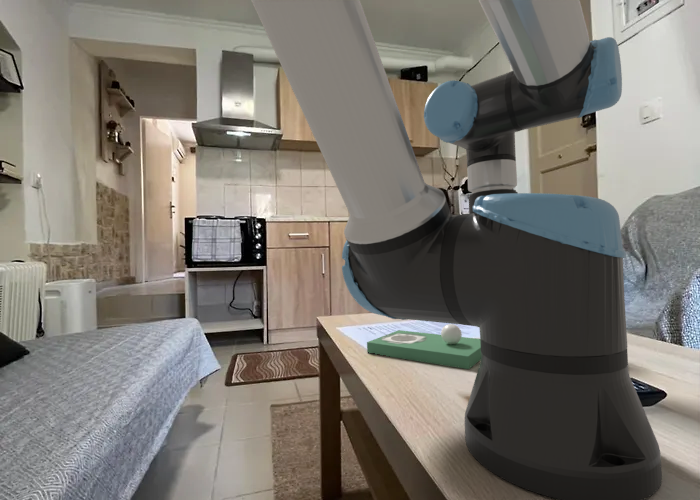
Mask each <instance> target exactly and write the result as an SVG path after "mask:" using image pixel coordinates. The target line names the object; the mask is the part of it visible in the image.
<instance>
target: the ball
mask: <svg viewBox="0 0 700 500" xmlns="http://www.w3.org/2000/svg"><path fill="white" fill-rule="evenodd" d="M440 335H441V336H442V339H443V340H444V341H445V342H446V343H448V344H456V343H458V342H459V341H460V339H461V337H463V336H462V335H463V334H462V330H461V328H460V327H459V326H457V324H451V323H447V324H446V325H444V326H443V327H442V328H441V331H440Z"/></svg>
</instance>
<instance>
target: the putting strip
mask: <svg viewBox="0 0 700 500" xmlns="http://www.w3.org/2000/svg"><path fill="white" fill-rule="evenodd" d="M366 347H367V348H366V351H367V352H369V353H368V354H370V353H375V354H374V355H377V354H380V355H379V356H383V355H386V356H385V357H389V356H390V357H389V358H395V359H396V358H397V359H403V360H408V361H416V362H421V363H425V364H427V363H428V364H434V365H438V366H439V365H441V366H445V367H454V368H459V369H465V370H471V368H472V367H474V366H475V365H476V364H477V363H478V362H480V361H481V344H480V338H475V337H474V338H473V337H466V336H461V339H460V341H459V342H458V343H456V344H448V343H446V342H445V341H444V340H443V339H442V336H441V334H437V333H428V332H418V331H410V330H409V331H408V330H400V329H397V330H396V331H393V332H391V333H387V334H385V335H382V336H379V337H377V338H374V339H372V340H370V341H367V342H366Z"/></svg>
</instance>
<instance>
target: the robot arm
mask: <svg viewBox="0 0 700 500" xmlns="http://www.w3.org/2000/svg"><path fill="white" fill-rule="evenodd" d="M250 1H251V4H252V5H253V7H254V9H255V12H256V14H257V16H258V19H259V20H260V22H261V26H262V27H263V29H264V31H265V33H266V35H267V37H268V40H269V41H270V44H271V46H272V48H273V50H274V53H275V55H276V57H277V59H278V61H279V64H280V66H281V68H282V70H283V73H284V75H285V77H286V79H287V81H288V83H289V86H290V87H291V90H292V92H293V94H294V96H295V99H296V100H297V101H296V102H298V105H299V108H300V109H301V112H302V113H303V116H304V118H305V120H306V122H307V124H308V127H309V128H310V131H311V133H312V136H313V137H314V139H315V141H316V144H317V146H318V148H319V150H320V153H321V155H322V156H323V159H324V161H325V163H326V165H327V168H328V170H329V171H330V174H331V177H332V178H333V181H334V183H335V185H336V187H337V189H338V191H339V193H340V196H341V198H342V200H343V202H344V205H345V207H346V208H347V211H348V213H349V217H348V219H347V222H346V225H345V227H344V230H343V232H344V233H343V234H344V238H345V240H346V241H345V243H344V245H343V248H342V254H341V259H342V260H344V265H342V267H341V271H342V276H343V280H344V282H345V283H344V284H345V286H346V288H347V290H348V291H349V292H348V293H349V294H350V295H351V296H352V298H353V300H355V303H357V304H358V305H359V306H360V307H361V308H363V309H365V310H366V311H368V312H369V313H372V314H375V315H379V316H383V317H387V318H388V319H389V318H390V319H392V320H402V321H404V320H410V321H411V320H412V321H419V322H420V321H421V322H429V323H430V322H432V323H442V324H454V325H460V326H461V325H462V326H471V327H477V328H479V339H480V344H481V360H480V361H479V362H480V363H479V365H478V369H477V373H476V375H475V379H474V383H473V386H472V388H471V393H470V395H469V399H468V402H467V404H466V405H467V406H466V409H465V413H464V440H465V445H466V446H467V447H466V448H467V449H468V451H469V453H470V454H471V455H472V456H473V457H474V459H475V460H476V461H477V462H478V463H480V465H481V466H483V467H484V468H486V469H487V470H488V471H490V472H491V473H493V474H495V475H496V476H497V477H500V478H501V479H503V480H505V481H506V482H509V483H511V484H513V485H515V486H517V487H520V488H523V489H525V490H527V491H531V492H533V493H536V494H538V495H542V496H546V497H550V498H553V499H558V500H645V499H648V498H649V497H650V496H652V495H654V494H655V493H656V492H657V491H658V490H659V489H660V487H661V484H662V482H663V481H662V480H663V478H662V477H663V476H662V473H663V472H662V456H661V455H662V454H661V453H662V452H661V450H660V446H659V443H658V440H657V437H656V435H655V434H654V433H655V432H654V430H653V429H652V425H651V423H650V421H649V419H648V416H647V413H646V411H645V409H644V407H643V405H642V402H641V400H640V397H639V395H638V393H637V390H636V388H635V385H634V383H633V381H632V379H631V376H630V372H629V371H630V370H629V356H628V334H627V320H626V319H627V317H626V315H627V314H626V303H625V301H626V300H625V299H626V298H625V279H624V259H625V258H627V252H626V250H625V249H624V246H623V240H622V239H623V238H622V229H621V223H620V216H619V212H618V210H617V209H616V208H615V207H614V205H612V204H611V203H610V202H608V201H606V200H604V199H601V198H598V197H593V196H588V195H587V196H586V195H576V194H566V193H565V194H563V193H560V194H559V193H543V192H542V193H539V192H538V193H534V192H533V193H532V192H531V193H530V192H529V193H525V192H523V193H521V192H520V193H519V192H518V191H517V190H516V189H515V188H516V187H517V186H518V175H517V173H518V171H517V157H516V135H515V134H516V133H518V132H520V131H525V130H529V129H534V128H539V127H541V126H545V125H546V126H547V125H551V124H554V123H555V124H556V123H560V122H564V121H569V120H573V119H579V118H582V117H583V116H585V115H589V114H592V113H596V112H599V111H602V110H606V109H609V108H612V107H613V106H615V105H616V104H618V102H619V101H620V99H621V97H622V90H623V89H622V88H623V77H622V75H623V73H622V64H621V63H622V61H621V57H620V56H621V55H620V49H619V44H618V42H617V41H616V39H615V37H614V38H613V37H610V36H609V37H604V38H600V39H593V40H590V36H589V31H588V27H587V23H586V19H585V14H584V12H583V7H582V4H581V0H477V1H478V2H479V4H480V6H481V9H482V11H483V12H484V15H485V17H486V19H487V21H488V23H489V25H490V27H491V29H492V31H493V32H494V34H495V37H496V39H497V41H498V44H499V45H500V47H501V49H502V51H503V52H504V55H505V57H506V59H507V61H508V63H509V65H510V67H511V69H512V70H511V71H509V72H506V73H503V74H500V75H498V76H495V77H492V78H490V79H487V80H483V81H481V82H477V83H475V84H473V85H471V84H470V83H467V82H464V81H459V80H455V79H453V80H448V81H445V82H443V83H441V84H439V85H438V86H437V87H435V88H434V90H432V92H431V93H430V94H429V96H428V97H427V99H426V102H425V106H424V110H423V119H424V120H423V121H424V125H425V126H426V128H427V130H428V131H429V133H430V134H432V135H433V136H435V137H437V138H439V139H440V140H441V141H442V142H444V143H449V144H451V145H454V146H457V147H460V148H462V149H464V150H465V151H466V169H467V171H466V172H467V190H468V192H470V194H469V196H468V213H464V214H463V213H462V214H452V213H453V212H451V209H450V207H449V206H450V205H449V204H448V201H447V198H446V195H445V193H444V191H443V190H442V189H440V188H438V187H435V186H433V185H430V184H427V183H426V182H425V180H424V179H425V178H423V174H422V172H421V171H422V170H421V169H420V166H419V162H418V160H417V158H416V155H415V152H414V149H413V145H412V144H411V140H410V137H409V135H408V131H407V130H406V127H405V124H404V121H403V118H402V115H401V113H400V110H399V107H398V104H397V101H396V99H395V96H394V95H395V94H394V93H393V89H392V87H391V84H390V82H389V78H388V76H387V73H386V70H385V67H384V65H383V61H382V59H381V56H380V53H379V50H378V48H377V45H376V42H375V39H374V36H373V33H372V31H371V28H370V25H369V22H368V20H367V19H368V18H367V16H366V14H365V11H364V7H363V5H362V3H361V0H250ZM623 258H624V259H623Z"/></svg>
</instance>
